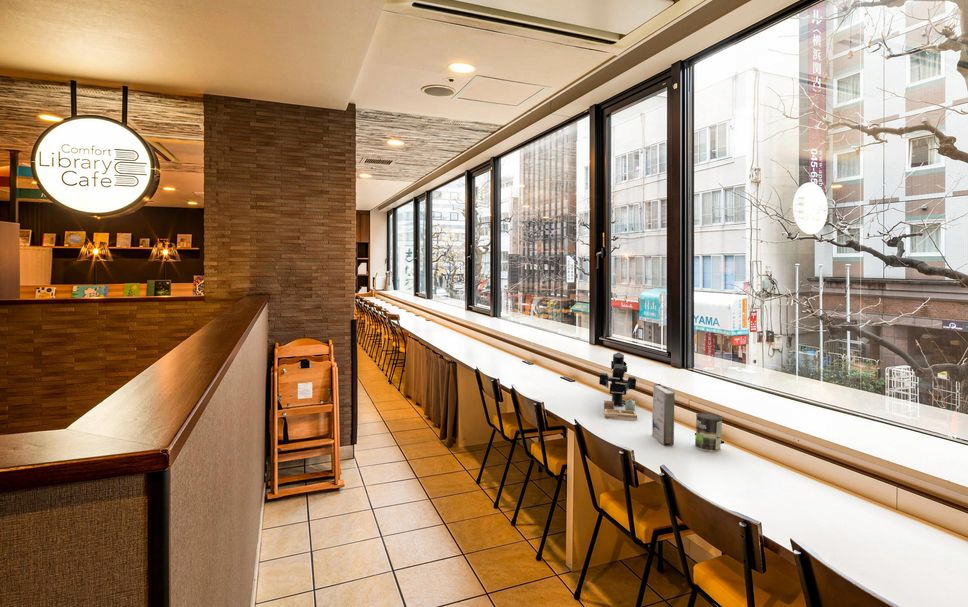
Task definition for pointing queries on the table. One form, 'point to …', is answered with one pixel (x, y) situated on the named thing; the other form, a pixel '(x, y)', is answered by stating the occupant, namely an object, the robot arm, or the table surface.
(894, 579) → the table surface
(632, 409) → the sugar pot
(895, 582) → the table surface
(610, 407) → the walnut block
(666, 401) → the book
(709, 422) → the coffee can
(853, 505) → the table surface
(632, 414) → the caddy base
